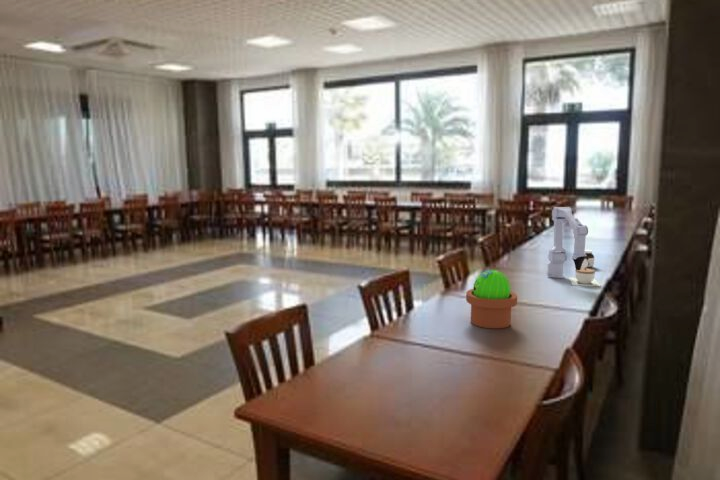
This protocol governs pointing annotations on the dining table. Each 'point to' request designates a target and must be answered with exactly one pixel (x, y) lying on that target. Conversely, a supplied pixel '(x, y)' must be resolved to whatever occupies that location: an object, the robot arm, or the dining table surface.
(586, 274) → the lidded jar
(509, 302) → the potted cactus
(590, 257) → the spread jar
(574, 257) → the robot arm
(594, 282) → the placemat
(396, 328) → the dining table surface
